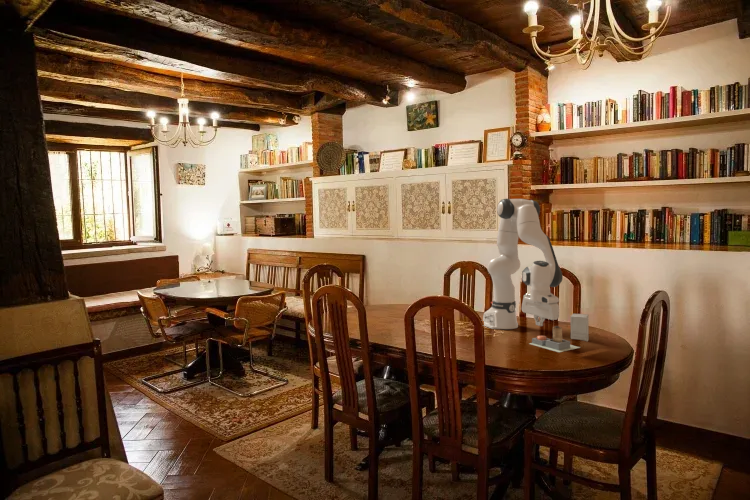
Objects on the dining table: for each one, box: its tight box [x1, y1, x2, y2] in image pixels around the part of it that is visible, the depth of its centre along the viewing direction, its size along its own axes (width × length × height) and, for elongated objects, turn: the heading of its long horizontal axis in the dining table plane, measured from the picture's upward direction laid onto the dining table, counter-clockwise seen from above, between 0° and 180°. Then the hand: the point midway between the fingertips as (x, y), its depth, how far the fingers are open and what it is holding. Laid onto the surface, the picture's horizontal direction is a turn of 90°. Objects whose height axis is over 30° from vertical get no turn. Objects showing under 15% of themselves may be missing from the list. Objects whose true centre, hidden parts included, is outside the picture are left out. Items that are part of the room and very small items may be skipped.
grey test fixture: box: [528, 337, 581, 353], centre depth 240 cm, size 18×14×4 cm
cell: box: [552, 325, 563, 343], centre depth 237 cm, size 4×4×10 cm
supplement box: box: [570, 313, 590, 342], centre depth 253 cm, size 7×7×13 cm
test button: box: [536, 335, 547, 341], centre depth 244 cm, size 4×4×2 cm
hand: (539, 325), depth 244 cm, fingers closed
